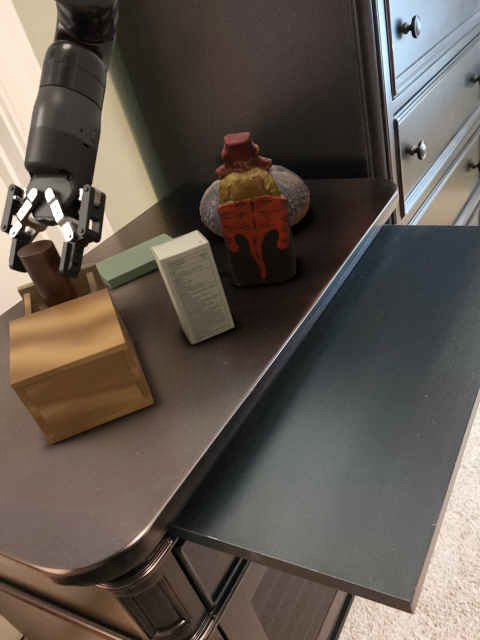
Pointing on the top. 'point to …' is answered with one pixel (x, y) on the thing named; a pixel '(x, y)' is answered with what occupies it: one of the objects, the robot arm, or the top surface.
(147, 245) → the board
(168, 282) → the cosmetic box
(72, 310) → the cabinet
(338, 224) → the top surface
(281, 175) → the sea urchin shell
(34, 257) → the brown wooden cylinder
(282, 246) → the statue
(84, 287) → the drawer
